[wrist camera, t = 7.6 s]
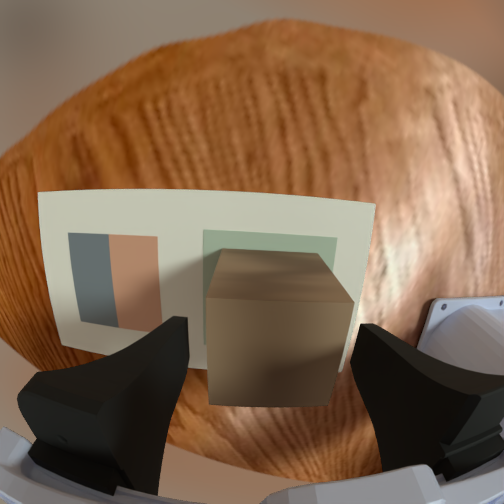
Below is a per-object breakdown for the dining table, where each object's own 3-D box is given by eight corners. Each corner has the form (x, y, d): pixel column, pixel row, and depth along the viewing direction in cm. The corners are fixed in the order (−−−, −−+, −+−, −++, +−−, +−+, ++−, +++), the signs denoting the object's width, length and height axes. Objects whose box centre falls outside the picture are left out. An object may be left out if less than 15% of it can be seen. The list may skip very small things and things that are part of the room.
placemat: (374, 203, 15) (376, 203, 14) (340, 370, 18) (341, 372, 17) (39, 192, 14) (37, 192, 14) (63, 343, 17) (61, 345, 17)
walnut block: (317, 253, 15) (354, 302, 9) (306, 334, 17) (327, 405, 11) (222, 248, 15) (205, 297, 9) (220, 331, 16) (208, 404, 11)
